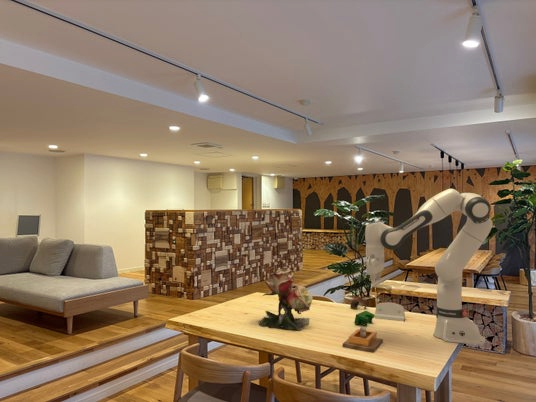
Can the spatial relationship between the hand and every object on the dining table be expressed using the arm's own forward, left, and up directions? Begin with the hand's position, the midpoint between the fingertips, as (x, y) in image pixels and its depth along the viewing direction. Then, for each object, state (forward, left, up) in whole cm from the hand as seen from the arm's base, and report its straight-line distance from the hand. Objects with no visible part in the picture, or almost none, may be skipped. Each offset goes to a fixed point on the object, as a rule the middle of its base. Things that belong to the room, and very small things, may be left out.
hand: (375, 281), depth 197 cm
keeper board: (+1, +18, -26) cm, 32 cm away
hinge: (+1, -33, -27) cm, 43 cm away
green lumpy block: (+10, -15, -26) cm, 32 cm away
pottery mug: (+24, -46, -26) cm, 58 cm away
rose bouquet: (+47, +5, -26) cm, 54 cm away
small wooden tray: (+1, +18, -25) cm, 30 cm away
